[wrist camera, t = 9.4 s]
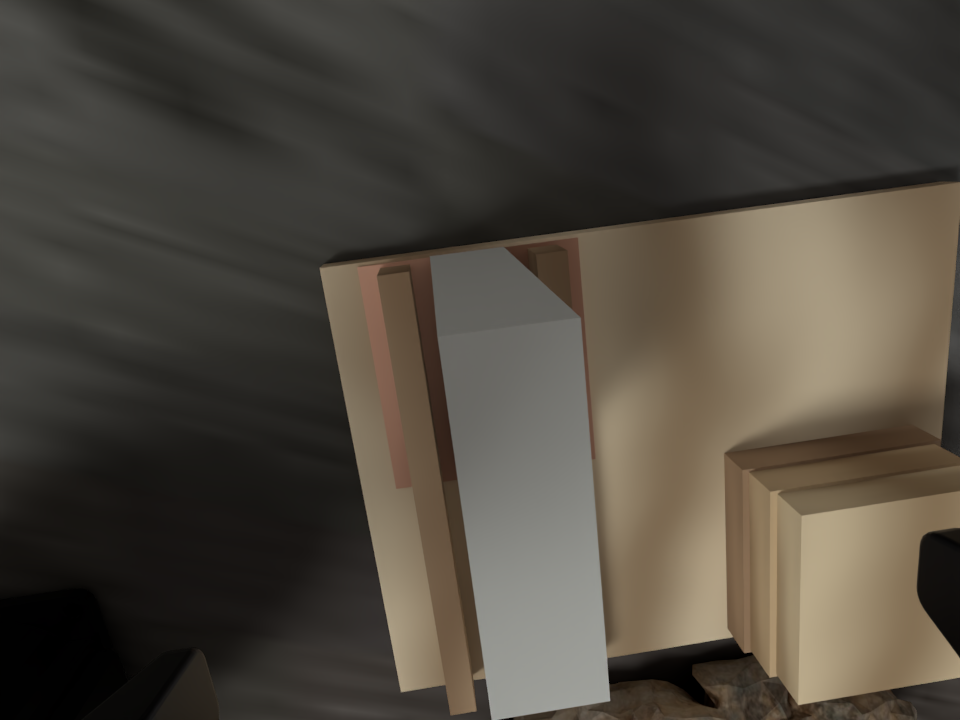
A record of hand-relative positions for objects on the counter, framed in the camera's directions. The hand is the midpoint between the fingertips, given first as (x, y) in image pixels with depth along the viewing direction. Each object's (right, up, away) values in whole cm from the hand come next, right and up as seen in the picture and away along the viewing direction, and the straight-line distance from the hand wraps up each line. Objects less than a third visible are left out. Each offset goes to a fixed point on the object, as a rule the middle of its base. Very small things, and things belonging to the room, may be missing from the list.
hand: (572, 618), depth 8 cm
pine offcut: (+10, -3, +11) cm, 15 cm away
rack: (+4, 0, +13) cm, 13 cm away
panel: (-1, +3, +10) cm, 11 cm away
